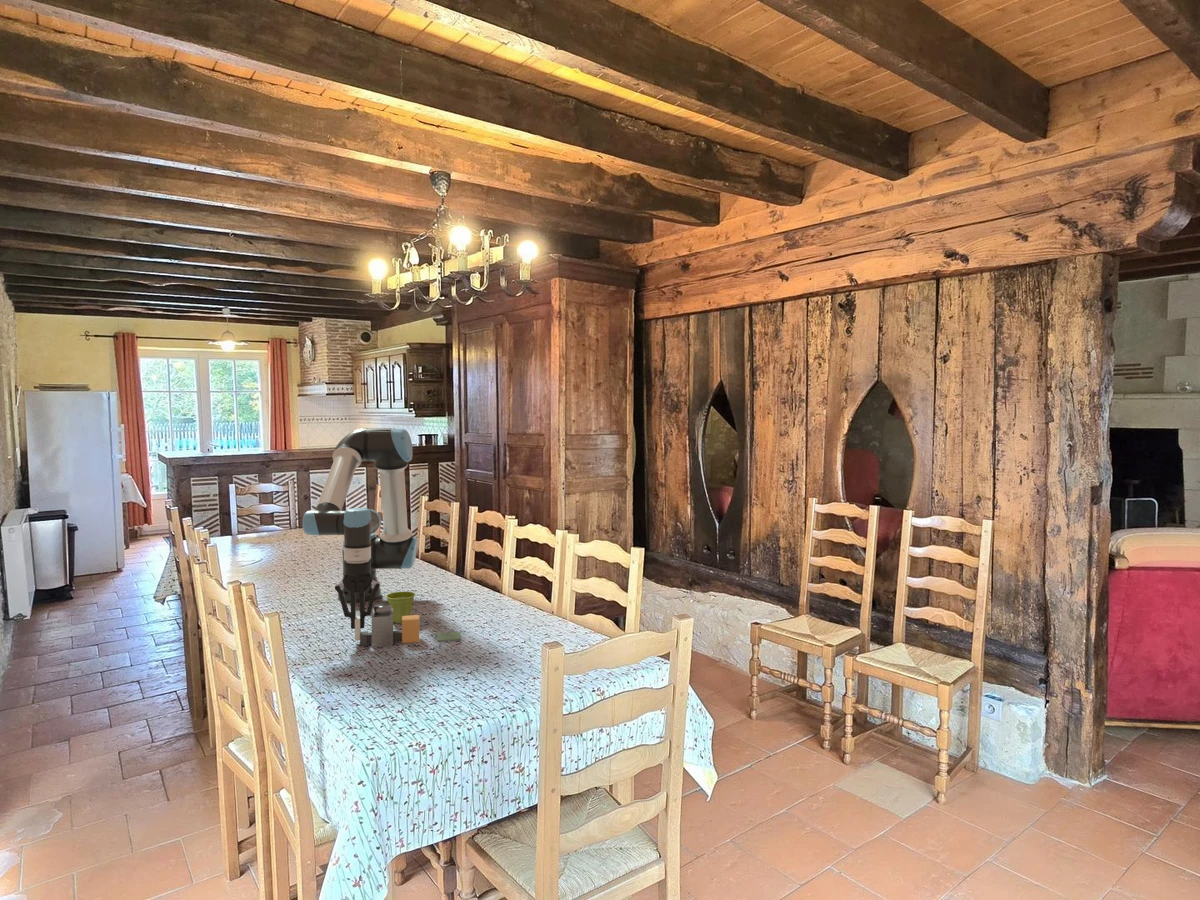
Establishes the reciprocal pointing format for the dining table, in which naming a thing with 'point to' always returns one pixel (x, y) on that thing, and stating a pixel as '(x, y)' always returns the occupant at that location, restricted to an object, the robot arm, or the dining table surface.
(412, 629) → the plug
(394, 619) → the plant pot
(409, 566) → the robot arm
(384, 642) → the housing
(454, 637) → the mat
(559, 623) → the dining table surface
